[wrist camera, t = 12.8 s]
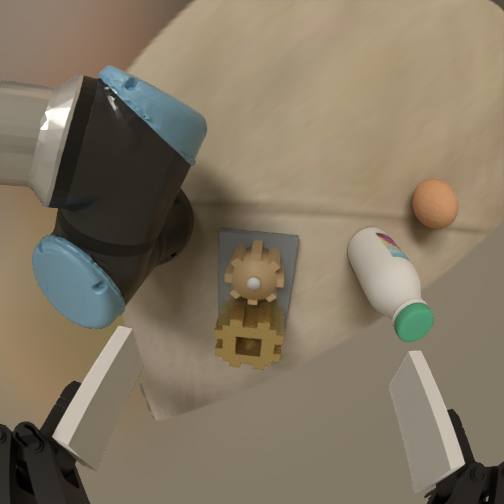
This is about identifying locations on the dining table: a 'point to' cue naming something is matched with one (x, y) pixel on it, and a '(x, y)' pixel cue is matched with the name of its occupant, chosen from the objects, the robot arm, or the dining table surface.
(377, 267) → the milk bottle
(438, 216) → the egg
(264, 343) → the gear
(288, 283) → the gear board
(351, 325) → the dining table surface
